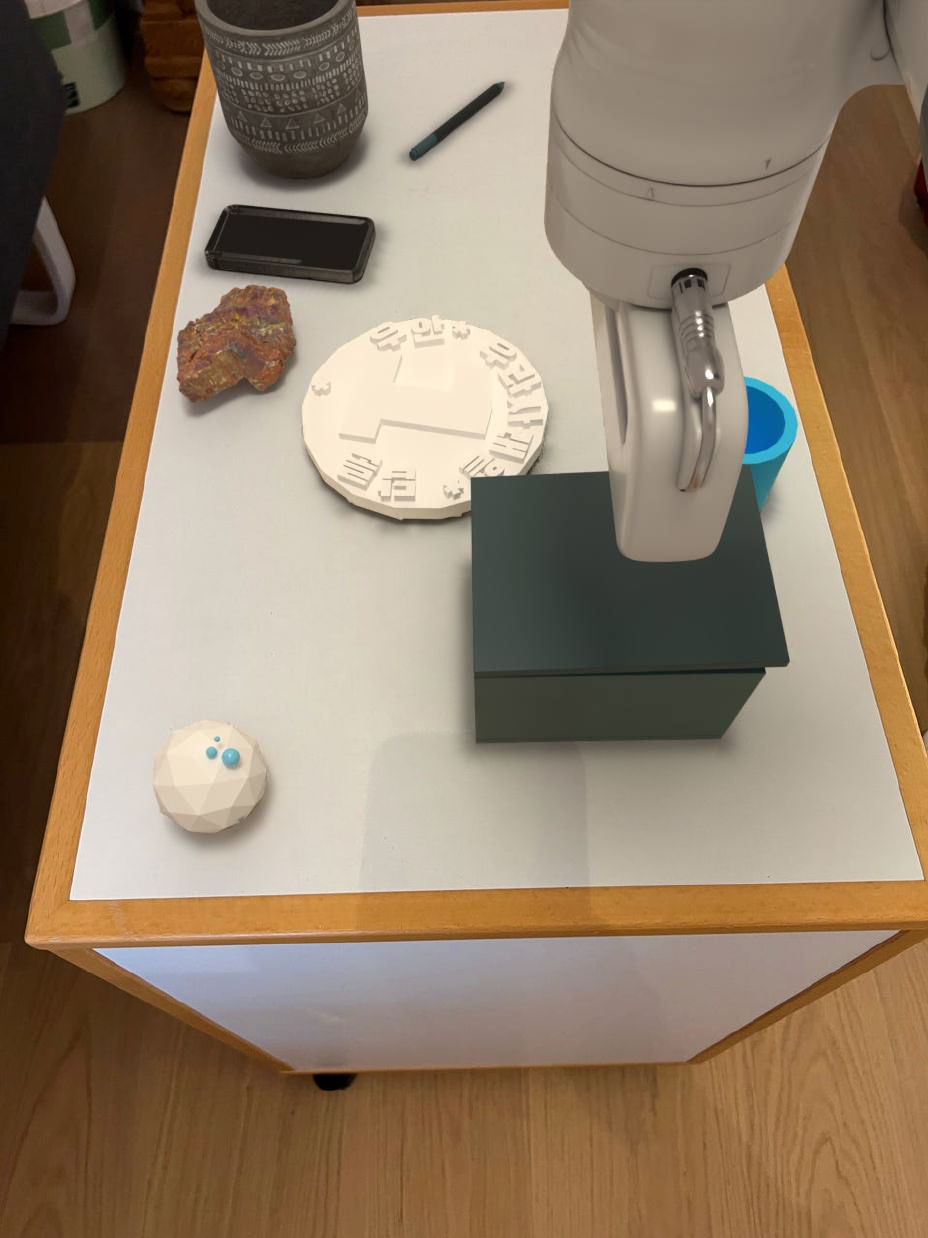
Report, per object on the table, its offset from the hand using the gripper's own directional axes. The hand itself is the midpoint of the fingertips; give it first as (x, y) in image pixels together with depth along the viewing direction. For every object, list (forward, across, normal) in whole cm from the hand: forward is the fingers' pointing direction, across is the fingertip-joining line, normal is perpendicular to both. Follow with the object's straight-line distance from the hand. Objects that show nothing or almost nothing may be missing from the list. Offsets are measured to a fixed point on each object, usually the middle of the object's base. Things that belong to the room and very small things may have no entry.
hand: (623, 443), depth 42 cm
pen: (+23, +62, +9) cm, 67 cm away
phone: (+23, +43, +24) cm, 54 cm away
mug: (+23, +16, -12) cm, 31 cm away
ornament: (+23, -10, +24) cm, 35 cm away
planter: (+23, +58, +24) cm, 67 cm away
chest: (+23, 0, 0) cm, 23 cm away
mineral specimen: (+23, +28, +28) cm, 45 cm away
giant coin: (+23, +21, +12) cm, 33 cm away
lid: (+12, 0, -1) cm, 12 cm away
